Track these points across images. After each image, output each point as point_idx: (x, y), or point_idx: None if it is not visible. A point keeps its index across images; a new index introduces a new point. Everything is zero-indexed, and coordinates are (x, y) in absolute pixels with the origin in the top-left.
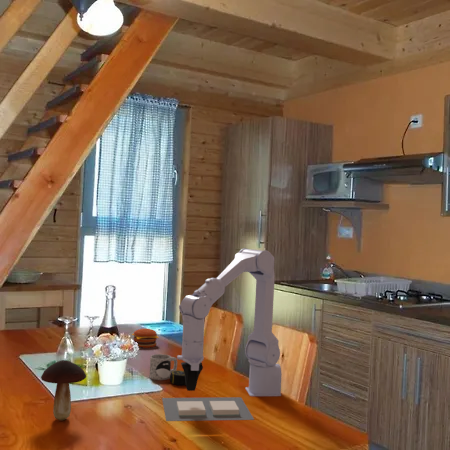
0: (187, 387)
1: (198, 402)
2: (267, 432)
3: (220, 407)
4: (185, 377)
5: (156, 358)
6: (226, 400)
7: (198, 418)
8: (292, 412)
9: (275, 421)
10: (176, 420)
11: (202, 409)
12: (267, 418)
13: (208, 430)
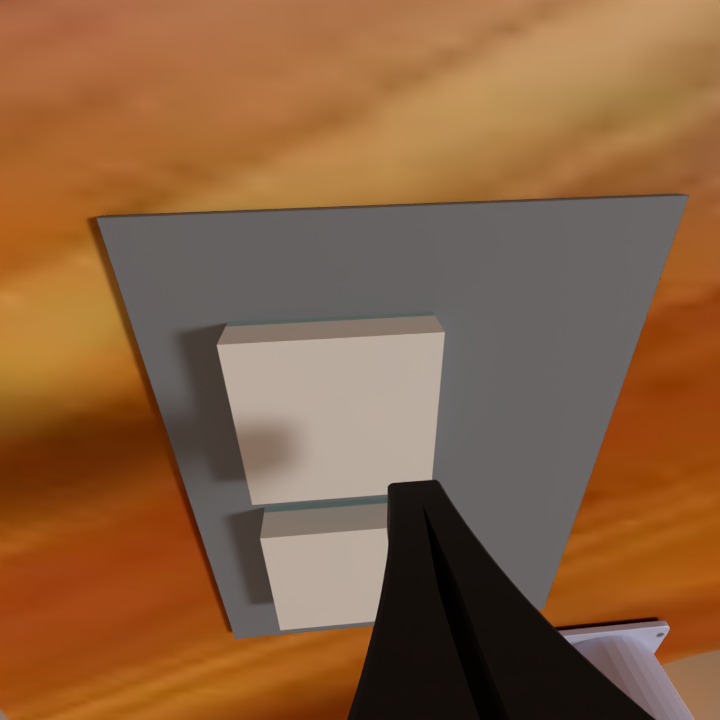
0: (390, 510)
1: (405, 471)
2: (108, 658)
3: (308, 568)
4: (405, 611)
5: None
6: (511, 563)
7: (205, 440)
8: None
9: (245, 677)
10: (130, 304)
11: (259, 489)
12: (277, 662)
13: (42, 476)
